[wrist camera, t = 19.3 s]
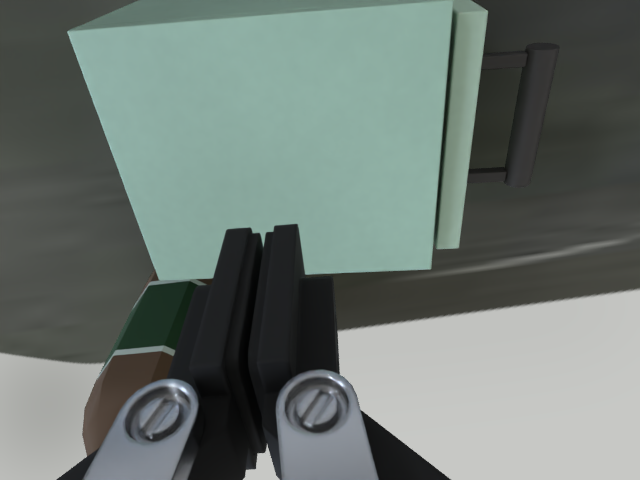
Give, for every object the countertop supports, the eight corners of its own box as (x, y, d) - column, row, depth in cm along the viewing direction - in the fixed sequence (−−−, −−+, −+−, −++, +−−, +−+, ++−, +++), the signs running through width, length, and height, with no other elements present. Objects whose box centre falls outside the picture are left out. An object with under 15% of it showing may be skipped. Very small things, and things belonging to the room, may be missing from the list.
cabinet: (415, -28, 24) (453, -1, 16) (407, 181, 32) (431, 269, 24) (149, -5, 25) (66, 30, 17) (201, 193, 32) (158, 281, 25)
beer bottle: (133, 263, 36) (-98, 666, 17) (207, 221, 34) (36, 638, 14) (197, 322, 40) (68, 708, 21) (268, 289, 38) (198, 691, 18)
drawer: (530, -22, 23) (602, 1, 17) (497, 175, 30) (541, 245, 24) (195, 5, 25) (146, 37, 18) (234, 189, 31) (208, 260, 25)
